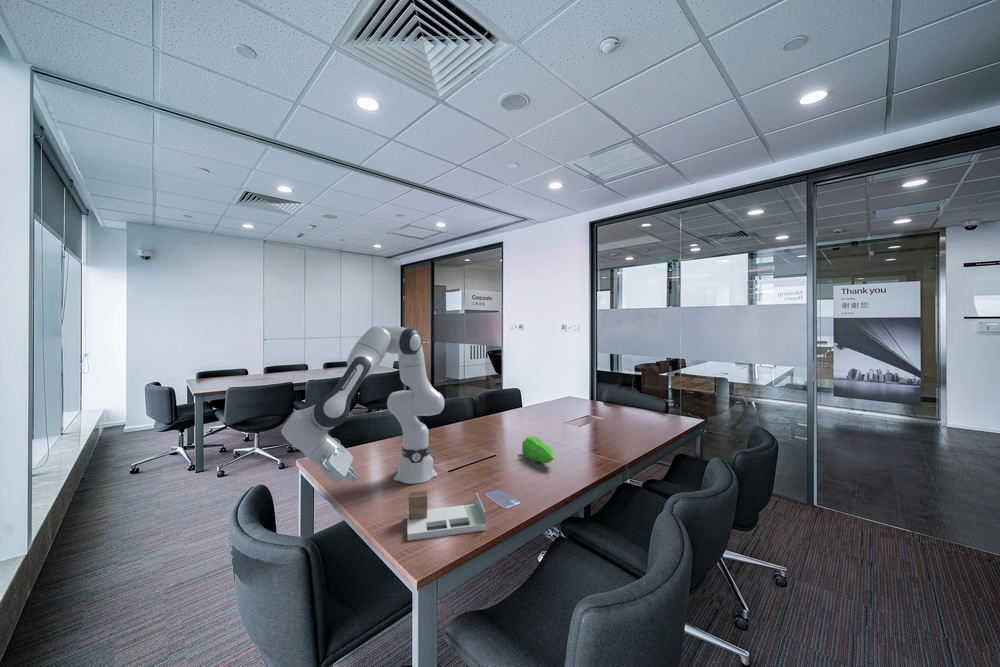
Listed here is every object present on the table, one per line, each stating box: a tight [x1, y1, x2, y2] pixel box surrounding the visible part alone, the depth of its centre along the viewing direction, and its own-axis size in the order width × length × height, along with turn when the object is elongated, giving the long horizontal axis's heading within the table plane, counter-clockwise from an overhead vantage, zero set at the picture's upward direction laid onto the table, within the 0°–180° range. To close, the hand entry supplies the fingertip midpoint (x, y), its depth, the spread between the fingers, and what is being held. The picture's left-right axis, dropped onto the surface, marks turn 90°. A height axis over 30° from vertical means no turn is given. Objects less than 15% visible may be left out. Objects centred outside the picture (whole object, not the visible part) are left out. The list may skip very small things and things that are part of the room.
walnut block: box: [408, 489, 428, 520], centre depth 127 cm, size 5×6×8 cm
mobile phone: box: [484, 489, 521, 509], centre depth 145 cm, size 8×1×15 cm
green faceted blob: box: [521, 436, 554, 465], centre depth 186 cm, size 11×12×30 cm
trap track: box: [406, 492, 487, 541], centre depth 126 cm, size 15×25×6 cm, turn 104°
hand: (356, 479), depth 122 cm, fingers closed
